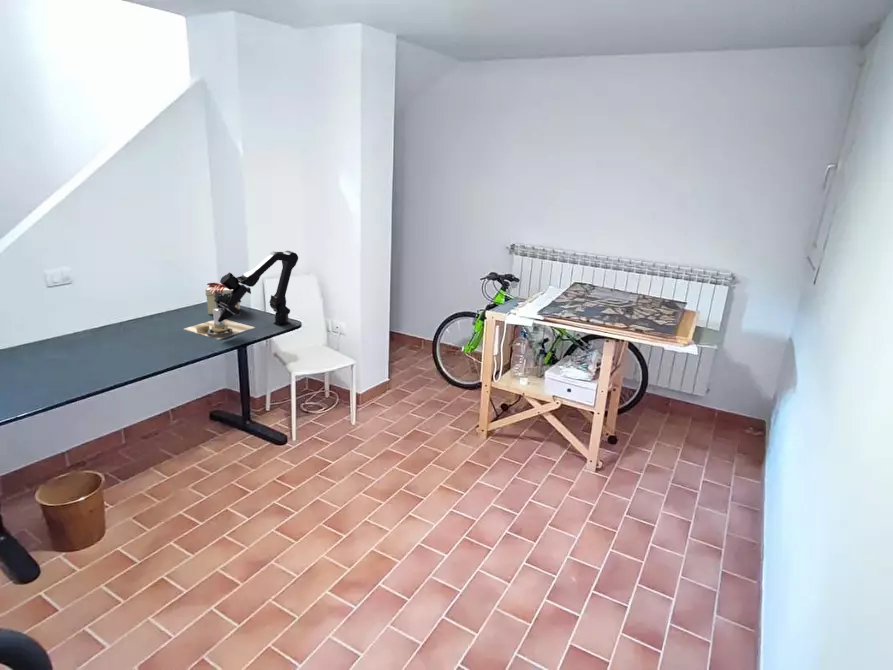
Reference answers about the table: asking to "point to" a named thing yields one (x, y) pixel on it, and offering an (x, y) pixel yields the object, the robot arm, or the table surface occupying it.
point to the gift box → (211, 293)
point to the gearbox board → (207, 331)
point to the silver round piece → (218, 326)
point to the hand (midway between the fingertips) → (216, 320)
